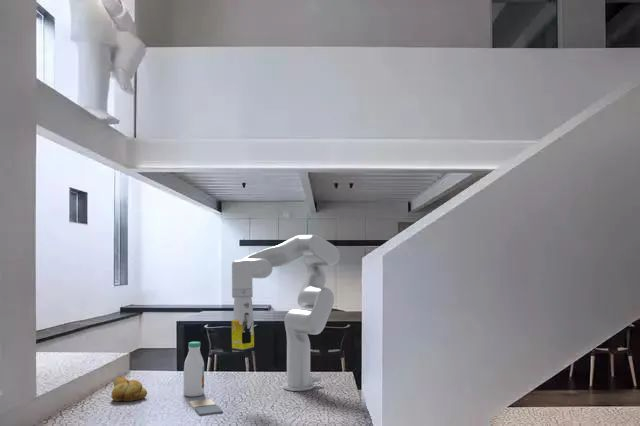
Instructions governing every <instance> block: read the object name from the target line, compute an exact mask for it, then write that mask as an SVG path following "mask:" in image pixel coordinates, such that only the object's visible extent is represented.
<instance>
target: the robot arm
mask: <svg viewBox="0 0 640 426" xmlns="http://www.w3.org/2000/svg"><path fill="white" fill-rule="evenodd" d="M340 254H341V253H340V251H339V249H338V248H337V247H336V246H335V244H332V243H331V242H329V241H328V240H326V239H325V238H323V237H321V236H319V235H317V234H298V235H294V237H291V238H289V239H287V240H285V241H283V242H282V243H279V244H278V245H275V246H271V247H268V248H265V249H262V250H258V251H256V252H253V253H251V254H250V255H247V256H246V257H244V258H242V259H235V260H233V261H232V263H231V296H232V297H231V298H232V299H234V300H233V320H237V321H239V324H240V325H242V330H243V332H242V343H243V344H245V343H251V325H252V324H253V320H254V309H253V308H254V307H253V299H252V298H253V291H254V290H253V288H254V287H253V279H266V278H268V277H270V276H271V274H272V272H273V268H277V267H283V266H286V265H288V264H290V263H292V262H293V261H296V260H298V259H299V258H301V257H303V261H304V263H305V267H306V277H305V279H304V282H303V284H302V286H301V288H300V290H299V293H298V296H297V304H298V306H299V307H301V308H294V309H289V311H288V312H287V313H285V316H284V328H285V332H286V334H285V335H286V382H284V383H283V384H282V388H283V389H284V390H286V391H292V392H306V391H310V390H312V389H314V388H315V385H314V383H315V382H317V383H318V382H322V377H321V376H316V375H314V376H313V375H311V342H310V337H309V335H314V336H315V335H319V334H321V332H323V330H324V329H325V327H326V325H327V323H328V319H329V317H330V315H331V313H332V309H333V307H334V303H335V297H334V293H333V291H332V289H330V288H328V287H325V284H326V281H327V276H326V273H325V270H324V268H323V267H324V266H325V267H326V266H327V267H328V266H329V267H330V266H332V267H333V266H335V265H337V263H338V262H339V261H340V258H341V257H340ZM243 321H244V322H246V323H245V324H243ZM244 326H245V328H244Z"/></svg>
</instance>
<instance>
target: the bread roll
mask: <svg viewBox="0 0 640 426" xmlns="http://www.w3.org/2000/svg"><path fill="white" fill-rule="evenodd" d="M147 396H148V391H147V389H146V388H144V387H143V384H142V382H140V381H139V380H136V379H131V380H128V378H126V377H124V376H118V377H116V378H115V379H114V382H113V388H112V391H111V399H112V400H113V401H115V402H120V401H125V402H131V401H135V400H142V399H144V398H146V397H147Z"/></svg>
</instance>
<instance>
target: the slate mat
mask: <svg viewBox="0 0 640 426" xmlns="http://www.w3.org/2000/svg"><path fill="white" fill-rule="evenodd" d="M194 411H195V412H196V413H197V414H198V415H199V417H202V416H208V415H217V414H223V413H224V410H223V409H221V408H220V407H219V406H218V405H217V404H216V405H214V406H206V407H197V408H194Z"/></svg>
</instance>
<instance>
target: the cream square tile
mask: <svg viewBox="0 0 640 426" xmlns="http://www.w3.org/2000/svg"><path fill="white" fill-rule="evenodd" d="M188 403H189V405H190V406H191V407H192V408H193V409H195V408H197V407H206V406H214V405H217V404H216V402H215V401H214V400H212V399H211V398H205V399H198V400H197V399H196V400H189V401H188Z"/></svg>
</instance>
